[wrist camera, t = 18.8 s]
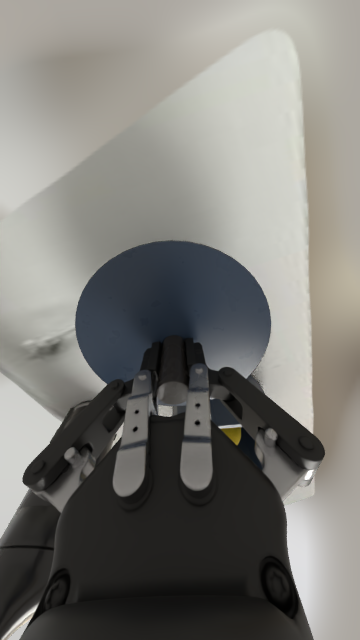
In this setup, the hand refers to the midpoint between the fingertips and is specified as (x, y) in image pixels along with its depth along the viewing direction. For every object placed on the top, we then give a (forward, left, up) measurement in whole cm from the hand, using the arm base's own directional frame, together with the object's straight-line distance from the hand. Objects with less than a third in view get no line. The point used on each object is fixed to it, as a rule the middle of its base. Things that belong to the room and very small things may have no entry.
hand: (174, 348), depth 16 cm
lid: (0, 0, -1) cm, 1 cm away
